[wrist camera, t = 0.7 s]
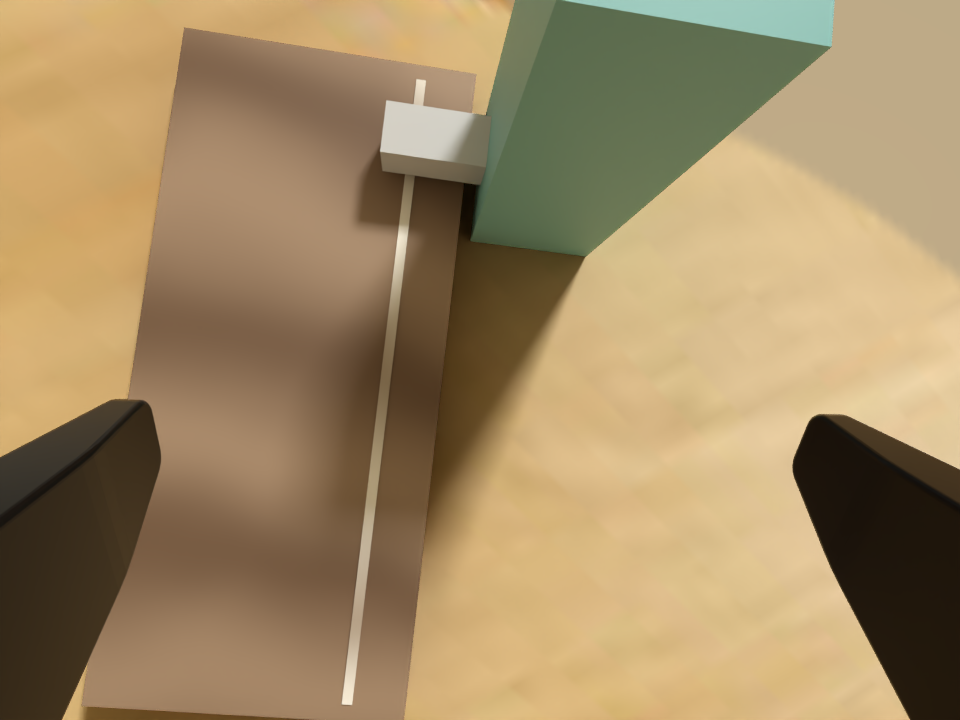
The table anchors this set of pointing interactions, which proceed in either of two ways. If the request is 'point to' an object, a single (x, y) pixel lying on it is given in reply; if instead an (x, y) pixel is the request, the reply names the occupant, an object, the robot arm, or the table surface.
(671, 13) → the teal rectangular block
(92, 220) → the table surface
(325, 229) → the board
